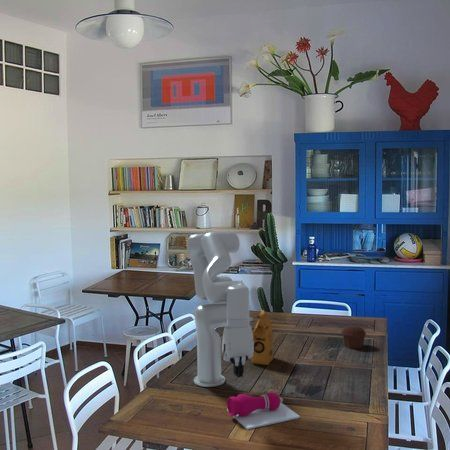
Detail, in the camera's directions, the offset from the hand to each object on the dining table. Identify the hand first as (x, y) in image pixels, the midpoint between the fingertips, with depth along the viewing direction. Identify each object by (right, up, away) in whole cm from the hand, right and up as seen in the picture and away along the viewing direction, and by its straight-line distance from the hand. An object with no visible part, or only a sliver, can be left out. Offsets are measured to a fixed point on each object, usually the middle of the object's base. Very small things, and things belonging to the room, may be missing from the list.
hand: (238, 375), depth 177 cm
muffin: (+58, -9, +79) cm, 99 cm away
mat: (+8, -15, +5) cm, 18 cm away
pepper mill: (-3, -11, +1) cm, 11 cm away
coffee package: (+12, -11, +60) cm, 62 cm away
